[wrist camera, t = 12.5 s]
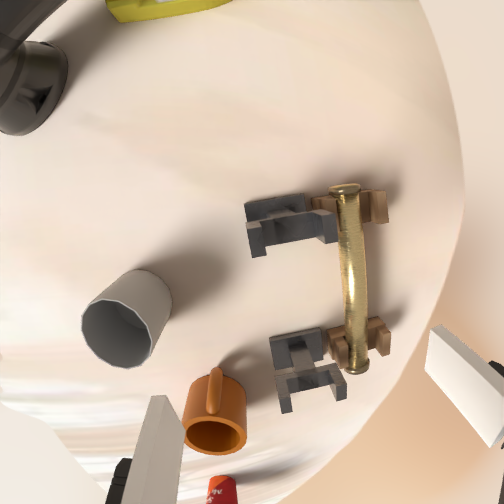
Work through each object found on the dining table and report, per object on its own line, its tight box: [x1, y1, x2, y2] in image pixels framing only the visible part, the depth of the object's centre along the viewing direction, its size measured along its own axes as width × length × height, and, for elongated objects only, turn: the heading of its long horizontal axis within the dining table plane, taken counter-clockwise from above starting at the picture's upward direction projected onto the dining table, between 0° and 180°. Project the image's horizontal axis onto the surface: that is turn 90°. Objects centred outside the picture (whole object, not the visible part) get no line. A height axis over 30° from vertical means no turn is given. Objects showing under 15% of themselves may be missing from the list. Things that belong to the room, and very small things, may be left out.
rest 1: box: [311, 189, 389, 232], centre depth 32 cm, size 4×8×5 cm, turn 101°
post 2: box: [269, 327, 347, 414], centre depth 33 cm, size 5×7×11 cm
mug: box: [181, 367, 247, 455], centre depth 35 cm, size 9×12×9 cm
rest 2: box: [327, 316, 391, 369], centre depth 36 cm, size 4×8×5 cm, turn 100°
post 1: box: [244, 194, 339, 258], centre depth 29 cm, size 5×7×11 cm
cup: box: [81, 270, 173, 369], centre depth 31 cm, size 8×8×10 cm
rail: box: [328, 183, 370, 375], centre depth 32 cm, size 24×4×4 cm
